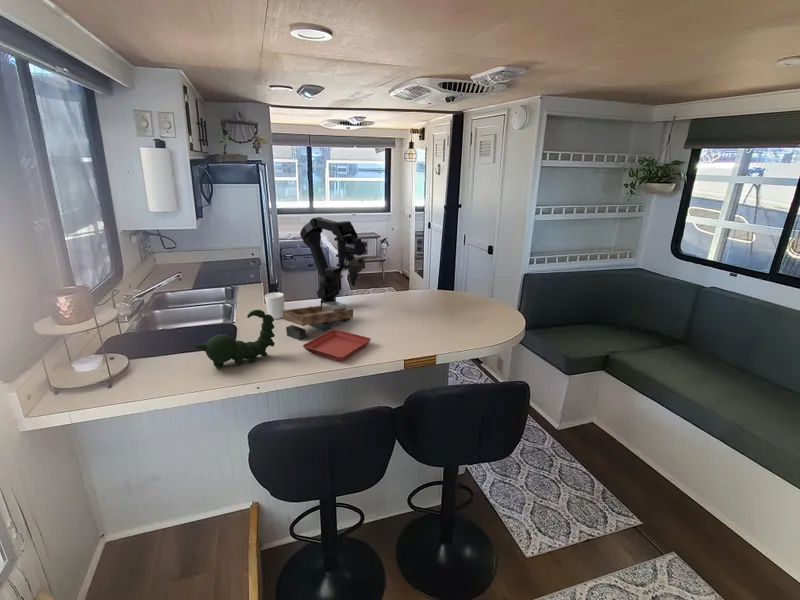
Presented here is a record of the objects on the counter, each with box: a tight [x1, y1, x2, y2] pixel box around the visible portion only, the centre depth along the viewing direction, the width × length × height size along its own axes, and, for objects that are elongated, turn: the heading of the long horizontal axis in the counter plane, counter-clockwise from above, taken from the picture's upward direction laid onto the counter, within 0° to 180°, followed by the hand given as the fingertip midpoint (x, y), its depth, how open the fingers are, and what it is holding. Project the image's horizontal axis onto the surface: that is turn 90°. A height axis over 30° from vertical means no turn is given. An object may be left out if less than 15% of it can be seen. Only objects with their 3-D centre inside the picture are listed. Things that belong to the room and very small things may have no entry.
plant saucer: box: [302, 328, 372, 362], centre depth 153 cm, size 18×18×3 cm
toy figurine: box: [194, 309, 276, 369], centre depth 141 cm, size 9×19×25 cm
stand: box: [285, 318, 351, 341], centre depth 172 cm, size 27×10×4 cm, turn 142°
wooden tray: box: [282, 305, 354, 327], centre depth 171 cm, size 27×13×4 cm, turn 142°
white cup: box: [264, 292, 285, 320], centre depth 184 cm, size 8×8×10 cm
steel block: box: [322, 300, 347, 313], centre depth 177 cm, size 7×7×4 cm
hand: (346, 287), depth 181 cm, fingers open, 8 cm apart
